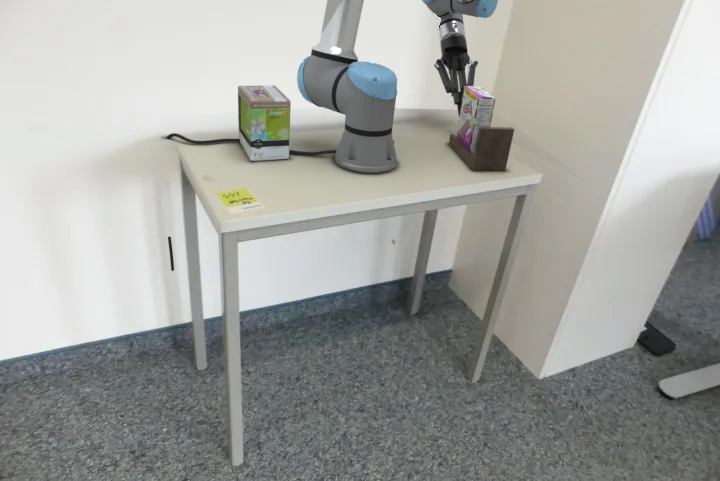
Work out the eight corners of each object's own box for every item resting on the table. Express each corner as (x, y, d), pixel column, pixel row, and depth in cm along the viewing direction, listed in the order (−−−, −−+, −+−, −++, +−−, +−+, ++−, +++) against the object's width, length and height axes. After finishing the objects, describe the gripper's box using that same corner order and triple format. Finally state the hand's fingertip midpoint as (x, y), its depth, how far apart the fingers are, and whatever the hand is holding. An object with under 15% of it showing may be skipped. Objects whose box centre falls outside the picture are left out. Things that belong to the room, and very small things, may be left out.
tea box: (290, 159, 138) (291, 100, 131) (250, 162, 134) (249, 101, 127) (275, 138, 150) (275, 83, 143) (237, 141, 146) (236, 84, 139)
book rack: (472, 170, 141) (480, 128, 135) (448, 144, 157) (454, 105, 152) (505, 171, 143) (514, 129, 137) (477, 144, 159) (485, 106, 154)
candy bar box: (453, 143, 158) (463, 85, 150) (470, 143, 159) (481, 85, 151) (467, 158, 149) (478, 96, 141) (484, 158, 150) (497, 97, 141)
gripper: (435, 32, 159) (445, 107, 153) (478, 34, 162) (489, 108, 156) (428, 48, 166) (436, 120, 160) (469, 49, 169) (479, 120, 163)
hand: (462, 114), depth 158 cm, fingers closed
